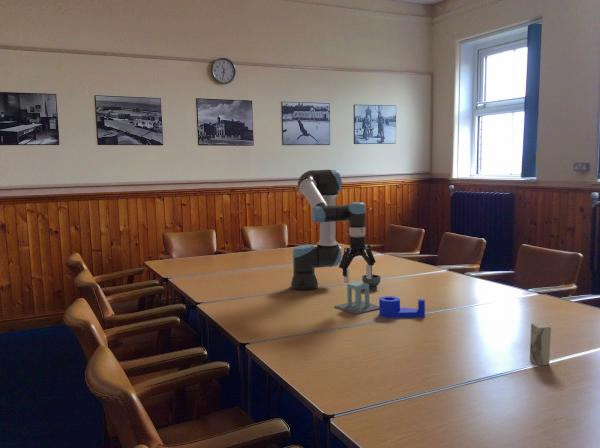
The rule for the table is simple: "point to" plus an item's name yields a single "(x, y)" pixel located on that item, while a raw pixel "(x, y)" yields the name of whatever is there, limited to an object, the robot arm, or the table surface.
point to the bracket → (391, 308)
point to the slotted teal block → (357, 293)
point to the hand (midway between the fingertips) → (357, 280)
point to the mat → (359, 311)
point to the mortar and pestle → (372, 281)
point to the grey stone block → (540, 343)
